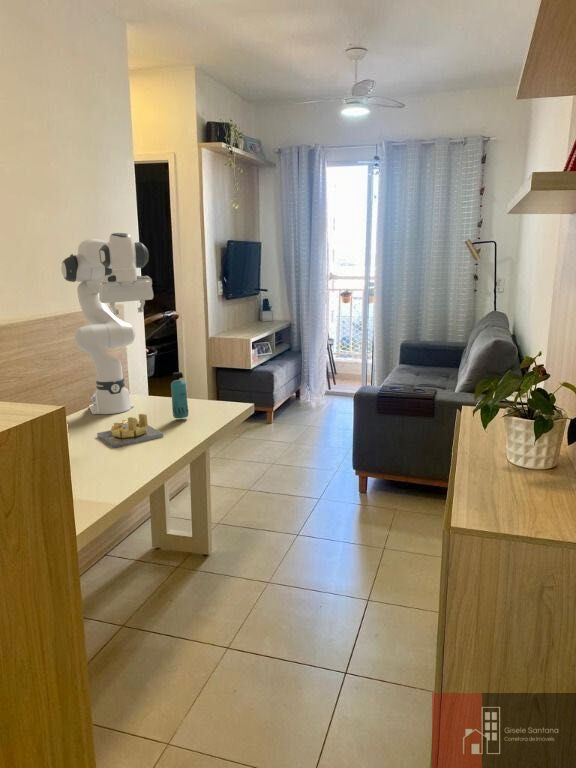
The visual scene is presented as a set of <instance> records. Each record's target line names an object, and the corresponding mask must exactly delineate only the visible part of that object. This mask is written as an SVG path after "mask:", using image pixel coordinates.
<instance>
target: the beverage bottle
mask: <svg viewBox="0 0 576 768" xmlns="http://www.w3.org/2000/svg"><path fill="white" fill-rule="evenodd" d="M183 378H184V374H183V372H182V371H181V372H180V371H177V372H173V373H172V379H175V380H173V381H172V382H171V383H170V389H171V407H172V408H171V409H172V417H173V418H174V419H185V418H187V417H189V415H190V414H189V405H188V392H187V382H186V381H185V380H184V379H183Z"/></svg>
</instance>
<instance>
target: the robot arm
mask: <svg viewBox="0 0 576 768" xmlns="http://www.w3.org/2000/svg"><path fill="white" fill-rule="evenodd" d="M108 240H109V241H106V240H103V239H99V238H87V239H84V240H82V241H81V242H80V243H79V245H78V248H77V254H73V253H72V254H70V255H69V256H68V257H66V258H64V259H63V260H62V263H61V269H60V271H61V274H62V276H63V278H64V280H65V281H67V282H70V283H75V282H80V283H79V284H78V285H77V289H76V290H77V299H78V302H79V304H80V307H81V310H82V313H83V316H84V319H85V320H86V321H87V322H88V323H90V324H88V325H84V326H81V327H77V330H75V333H74V343H75V344H76V346H77V347H78V349H79V350H81V351H83V352H85V353H86V354H87V355H88V356H89V358H91V360H92V361H93V365H94V368H95V375H96V382H95V386H96V387H95V388H96V390H95V392H94V393H93V395H92V396H91V397H90V402H91V403H92V404H89V406H88V408H89V410H90V412H91V414H92V415H113V414H118V413H119V414H121V413H124V412H127V411H129V410H130V409H132V408H134V407H135V404H134V403H131V397H130V396H131V395H130V391H129V389H128V388H126V381H125V378H124V375H123V374H124V373H123V367H122V365H123V364H122V362H121V360H120V358H118V357H115V356H113V355H111V354H108V351H107V349H114V348H122V347H125V346H130V345H132V344H133V343H134V341H135V338H136V332H135V328H134V327H133V326H132V325H131V323H129V322H127V321H124V320H122V319H121V318H119V317H117V315H119V314H120V312H119V311H120V310H119V309H116V307H115V305H116V303H124V302H136V301H139V303H140V306H139V307H137V313H144V306H145V304H146V301H149V300H153V299H154V296H155V295H154V290H153V286H152V285H153V279H152V278H151V277H150V276H148V275H137V274H138V273H137V269H143V268H144V267H145V266H146V265H147V263H148V262H149V258H150V254H149V250H148V248H147V247H146V246H145V245H144V243H142V242H140V241H139V242H137V241H136V242H133V239H132V235H130V234H129V233H124V232H123V233H122V232H113V233H111V234H110V235H109V239H108ZM110 308H111V309H112V310H113V312H112V311H111V309H110Z"/></svg>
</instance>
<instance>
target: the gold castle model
mask: <svg viewBox="0 0 576 768" xmlns="http://www.w3.org/2000/svg"><path fill="white" fill-rule="evenodd" d="M122 427H125V429H129V426H128V423H124V424H122ZM96 436H97V437H96V438H98V439H100V440H101V441H103V442H104V443H105V444H107V445H108V446H110V448H113V449H118V448H120V447H126V446H131V445H134V444H139V443H143V442H144V443H145V442H148V441H151V440H152V441H153V440H157V439H161V438H164V433H163V432H161V431H160V430H158V429H157V428H154V427H153V426H150V425H149V424H148V426H147V431H146V433H144V434H142V435H139V436H134V437H126V438H122V437H121V438H119V437H114V436H112V431H111V429H109V430H105V431H100V432H97V433H96Z"/></svg>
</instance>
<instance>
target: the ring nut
mask: <svg viewBox="0 0 576 768" xmlns="http://www.w3.org/2000/svg"><path fill="white" fill-rule="evenodd" d="M124 423H128V426H129V429H125V427H122V424H124ZM148 425H149V424H148V415H147V414H145V413H139V414H138V419H137V418H136V417H133V416H130V417H127V420H126V419H124V420H121V423H120V422H114V423H113V425H112V426H111V429H110V430H111V431H112V436H114V437H119V438H121V437H122V438H126V437H134V436H139V435H142V434H144V433H146V431H147V426H148Z"/></svg>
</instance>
